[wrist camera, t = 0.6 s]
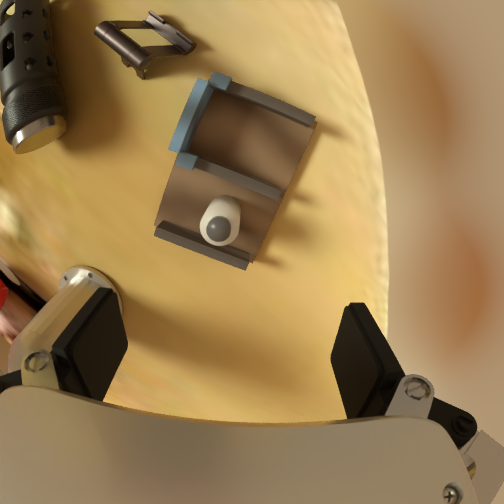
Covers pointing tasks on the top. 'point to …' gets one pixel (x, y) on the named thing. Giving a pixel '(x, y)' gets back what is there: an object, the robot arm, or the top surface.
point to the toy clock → (3, 293)
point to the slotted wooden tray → (231, 164)
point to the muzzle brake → (29, 77)
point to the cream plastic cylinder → (221, 220)
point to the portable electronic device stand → (133, 51)
